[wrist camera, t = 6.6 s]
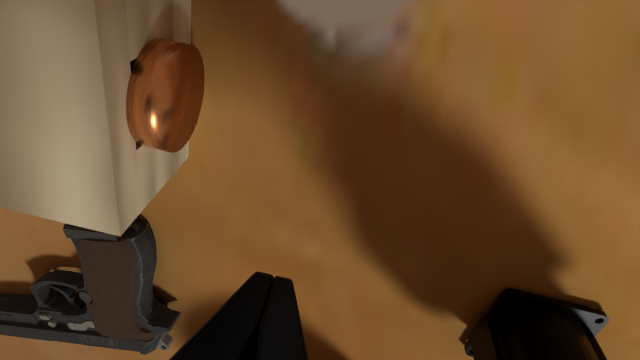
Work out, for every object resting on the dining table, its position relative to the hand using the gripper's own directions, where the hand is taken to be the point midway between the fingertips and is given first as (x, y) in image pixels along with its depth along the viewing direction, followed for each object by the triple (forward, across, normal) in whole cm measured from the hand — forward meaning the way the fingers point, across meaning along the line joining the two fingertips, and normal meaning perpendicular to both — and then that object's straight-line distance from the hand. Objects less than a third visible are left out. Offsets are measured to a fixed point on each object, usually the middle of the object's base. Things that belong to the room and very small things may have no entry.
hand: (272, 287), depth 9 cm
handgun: (+12, +16, +18) cm, 27 cm away
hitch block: (+12, +11, 0) cm, 16 cm away
